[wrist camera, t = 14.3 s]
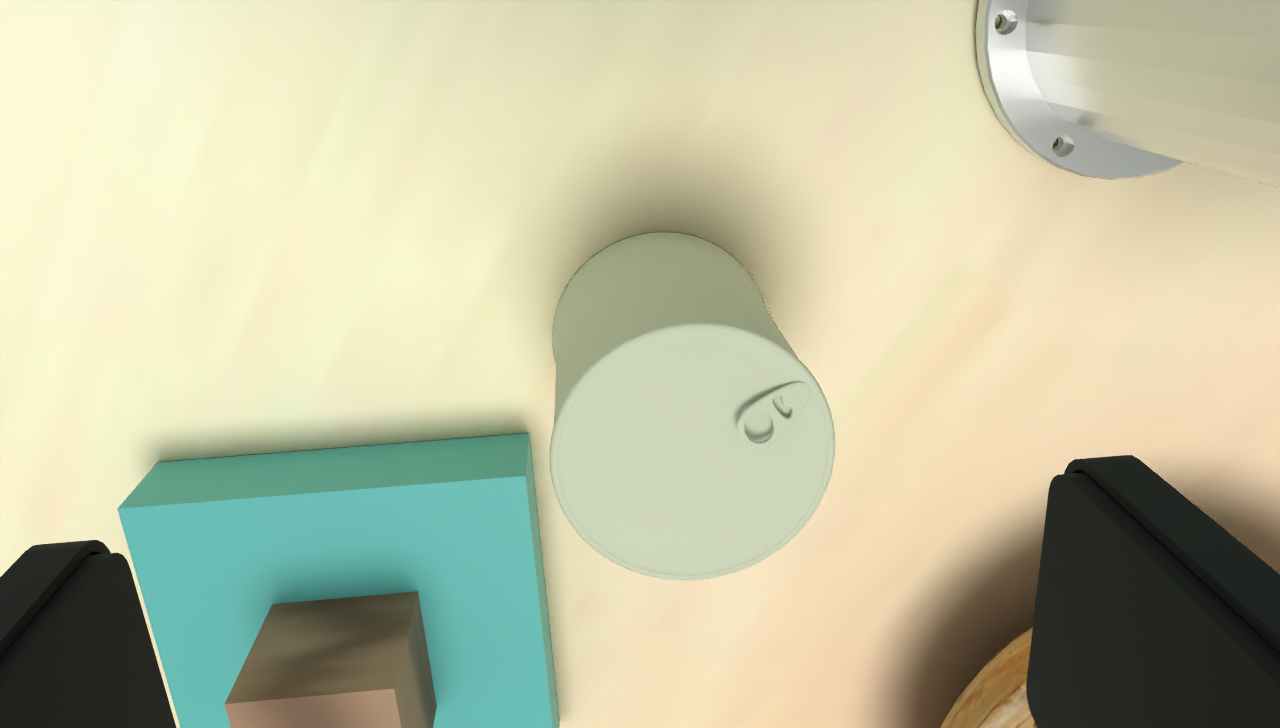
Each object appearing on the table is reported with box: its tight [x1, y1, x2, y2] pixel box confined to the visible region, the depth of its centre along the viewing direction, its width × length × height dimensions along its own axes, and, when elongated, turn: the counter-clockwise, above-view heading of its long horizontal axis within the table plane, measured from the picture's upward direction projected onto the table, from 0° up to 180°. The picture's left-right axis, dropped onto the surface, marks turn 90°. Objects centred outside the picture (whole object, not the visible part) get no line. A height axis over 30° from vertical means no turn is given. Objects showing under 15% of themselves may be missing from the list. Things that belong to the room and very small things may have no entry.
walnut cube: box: [225, 591, 437, 728], centre depth 38 cm, size 6×6×6 cm
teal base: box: [118, 433, 559, 728], centre depth 43 cm, size 16×16×4 cm
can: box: [550, 232, 835, 580], centre depth 36 cm, size 9×9×12 cm
